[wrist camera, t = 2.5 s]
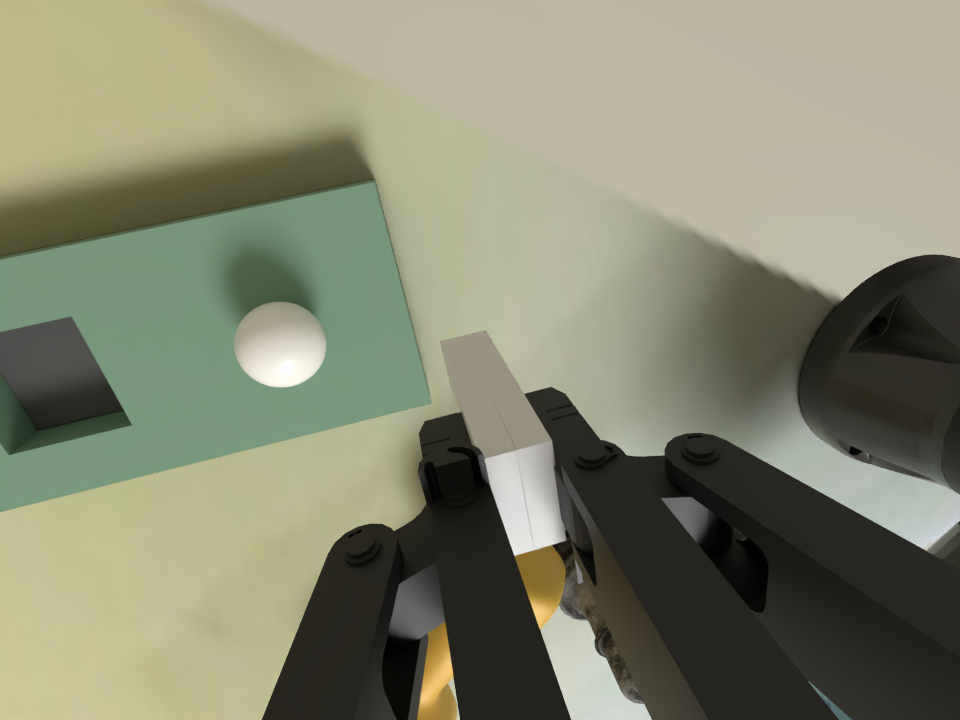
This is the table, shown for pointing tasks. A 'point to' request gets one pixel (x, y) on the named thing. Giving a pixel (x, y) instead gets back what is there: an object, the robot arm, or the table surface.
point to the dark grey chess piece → (593, 620)
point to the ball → (280, 344)
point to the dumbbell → (437, 700)
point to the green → (194, 341)
